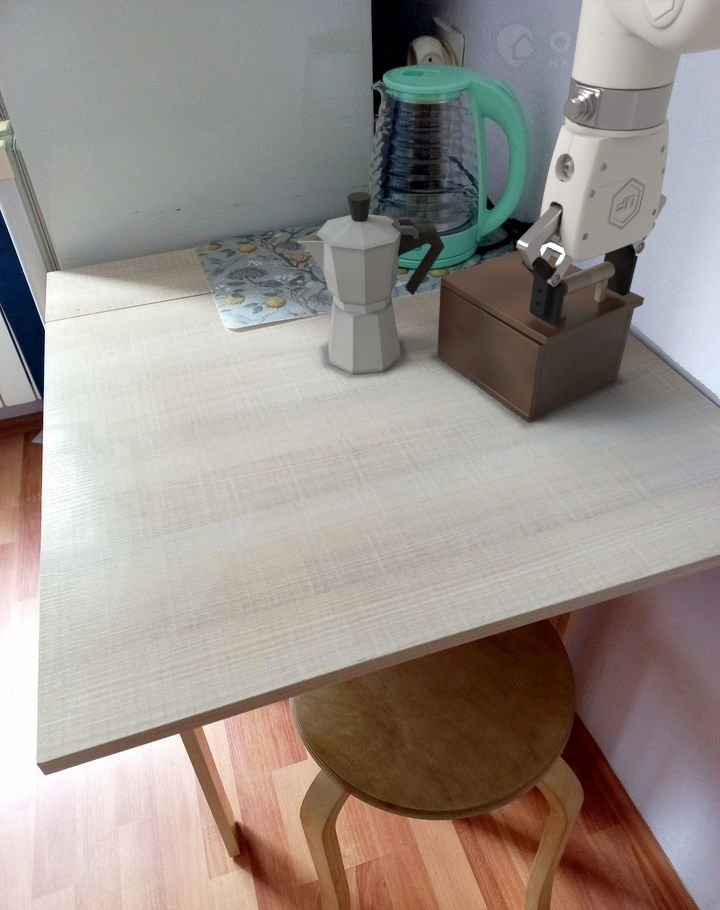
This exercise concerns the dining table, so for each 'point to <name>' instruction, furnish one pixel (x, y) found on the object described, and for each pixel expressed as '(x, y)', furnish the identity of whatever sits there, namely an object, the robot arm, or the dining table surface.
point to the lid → (510, 288)
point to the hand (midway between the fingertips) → (579, 303)
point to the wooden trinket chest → (527, 357)
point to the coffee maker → (367, 281)
